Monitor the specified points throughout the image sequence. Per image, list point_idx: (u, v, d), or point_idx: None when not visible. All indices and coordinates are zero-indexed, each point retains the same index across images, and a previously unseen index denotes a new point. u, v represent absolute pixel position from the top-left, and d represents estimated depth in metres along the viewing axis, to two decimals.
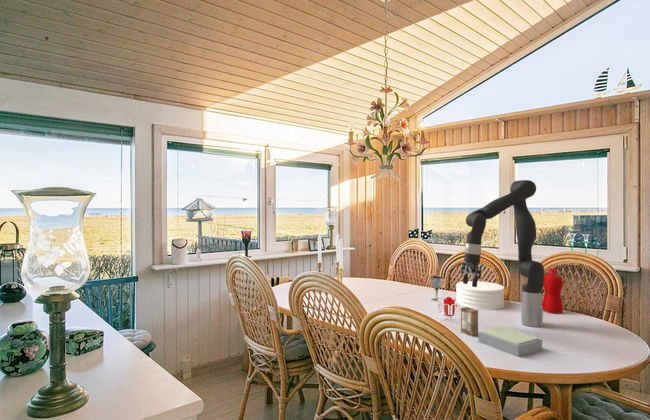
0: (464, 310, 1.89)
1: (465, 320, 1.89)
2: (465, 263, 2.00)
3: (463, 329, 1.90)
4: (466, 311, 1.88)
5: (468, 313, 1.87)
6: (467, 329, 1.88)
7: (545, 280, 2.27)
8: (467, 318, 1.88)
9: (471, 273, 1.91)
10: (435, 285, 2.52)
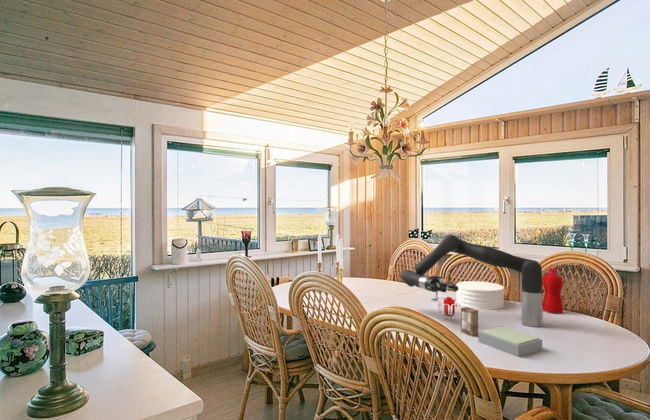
0: (464, 310, 1.89)
1: (465, 320, 1.89)
2: (444, 285, 2.10)
3: (463, 329, 1.90)
4: (466, 311, 1.88)
5: (468, 313, 1.87)
6: (467, 329, 1.88)
7: (545, 280, 2.27)
8: (467, 318, 1.88)
9: None
10: None
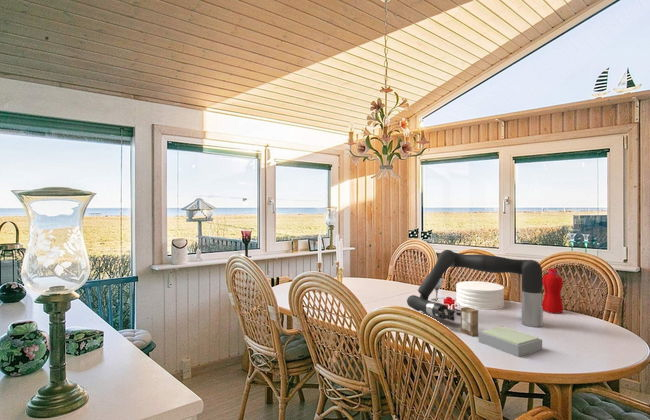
0: (464, 310, 1.89)
1: (465, 320, 1.89)
2: (452, 311, 2.06)
3: (463, 329, 1.90)
4: (466, 311, 1.88)
5: (468, 313, 1.87)
6: (467, 329, 1.88)
7: (545, 280, 2.27)
8: (467, 318, 1.88)
9: None
10: None
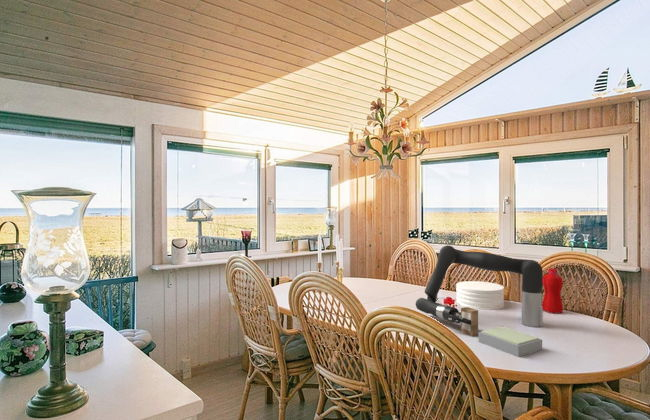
0: (464, 310, 1.89)
1: None
2: None
3: (463, 329, 1.90)
4: (466, 311, 1.88)
5: (468, 313, 1.87)
6: (467, 329, 1.88)
7: (545, 280, 2.27)
8: (467, 318, 1.88)
9: None
10: None
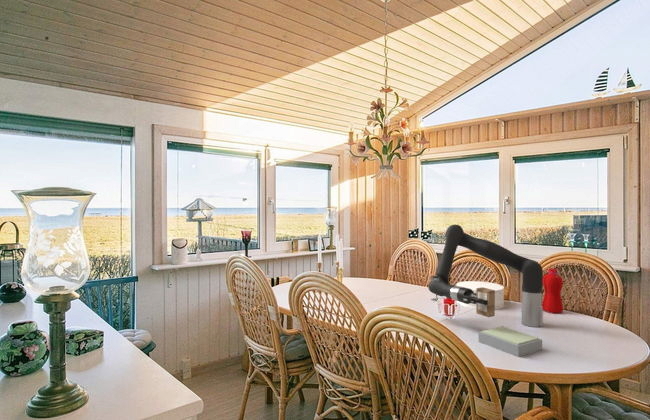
0: (480, 290, 1.83)
1: None
2: None
3: (479, 310, 1.83)
4: (482, 291, 1.82)
5: (484, 293, 1.80)
6: (483, 309, 1.81)
7: (545, 280, 2.27)
8: (483, 298, 1.81)
9: None
10: None
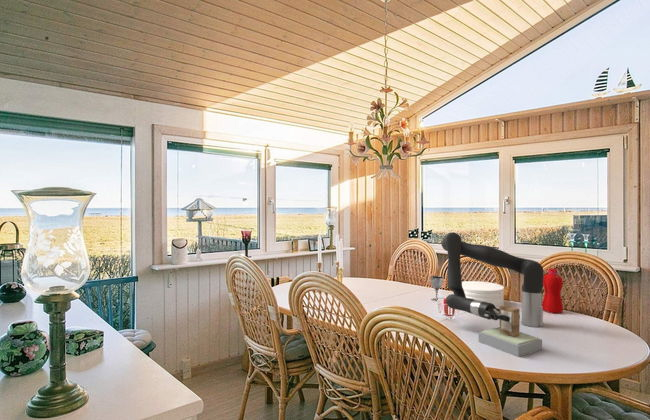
0: (504, 309, 1.73)
1: None
2: None
3: (502, 329, 1.74)
4: (506, 309, 1.72)
5: (509, 312, 1.71)
6: (507, 329, 1.72)
7: (545, 280, 2.27)
8: None
9: None
10: (435, 285, 2.52)
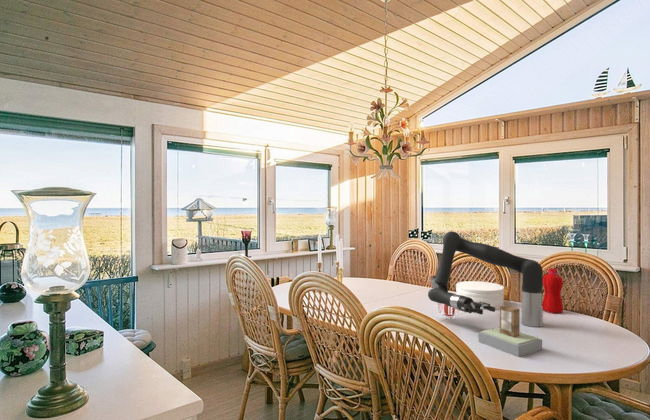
0: (504, 309, 1.73)
1: (505, 319, 1.73)
2: None
3: (502, 329, 1.74)
4: (506, 309, 1.72)
5: (509, 312, 1.71)
6: (507, 329, 1.72)
7: (545, 280, 2.27)
8: (507, 317, 1.72)
9: None
10: (435, 285, 2.52)
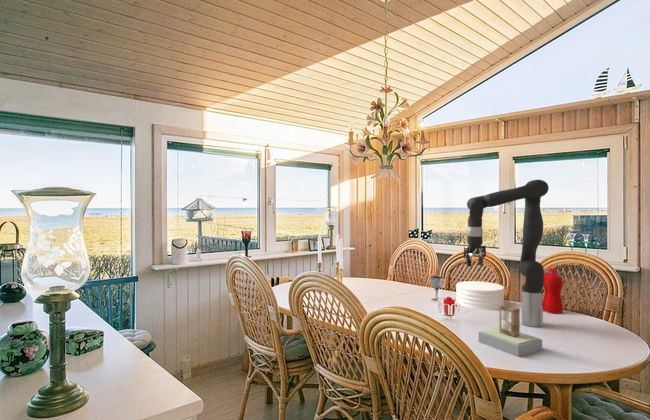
0: (504, 309, 1.73)
1: (505, 319, 1.73)
2: (481, 245, 2.10)
3: (502, 329, 1.74)
4: (506, 309, 1.72)
5: (509, 312, 1.71)
6: (507, 329, 1.72)
7: (545, 280, 2.27)
8: (507, 317, 1.72)
9: None
10: (435, 285, 2.52)
